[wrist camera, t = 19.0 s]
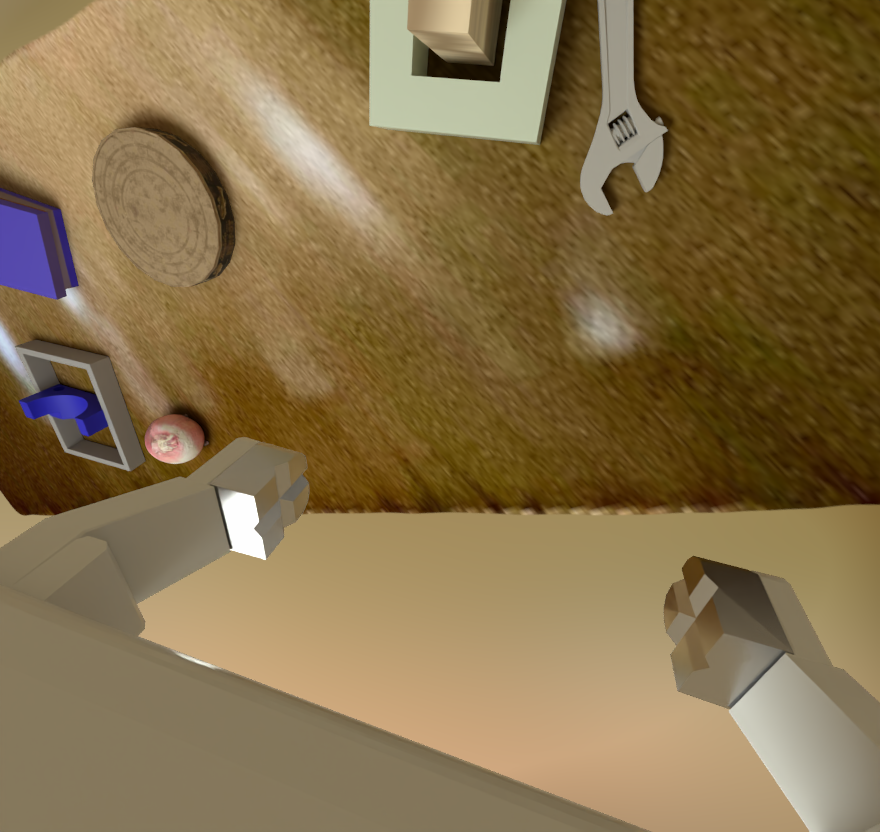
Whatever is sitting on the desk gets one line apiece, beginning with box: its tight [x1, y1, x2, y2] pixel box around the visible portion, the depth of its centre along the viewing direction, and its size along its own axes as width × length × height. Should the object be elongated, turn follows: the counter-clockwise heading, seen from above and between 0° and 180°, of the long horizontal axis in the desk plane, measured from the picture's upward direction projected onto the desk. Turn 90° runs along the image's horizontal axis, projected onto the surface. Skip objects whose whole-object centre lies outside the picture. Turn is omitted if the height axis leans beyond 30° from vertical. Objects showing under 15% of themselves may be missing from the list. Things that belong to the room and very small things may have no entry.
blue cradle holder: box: [19, 384, 108, 436], centre depth 67 cm, size 12×4×6 cm, turn 82°
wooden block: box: [407, 0, 503, 66], centre depth 29 cm, size 4×4×10 cm
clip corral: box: [15, 340, 145, 471], centre depth 69 cm, size 14×20×3 cm
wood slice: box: [92, 127, 235, 287], centre depth 48 cm, size 16×16×3 cm
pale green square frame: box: [370, 0, 567, 145], centre depth 32 cm, size 14×14×4 cm
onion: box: [145, 414, 209, 464], centre depth 64 cm, size 8×8×7 cm
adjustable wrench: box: [580, 0, 668, 215], centre depth 31 cm, size 25×6×2 cm, turn 9°
